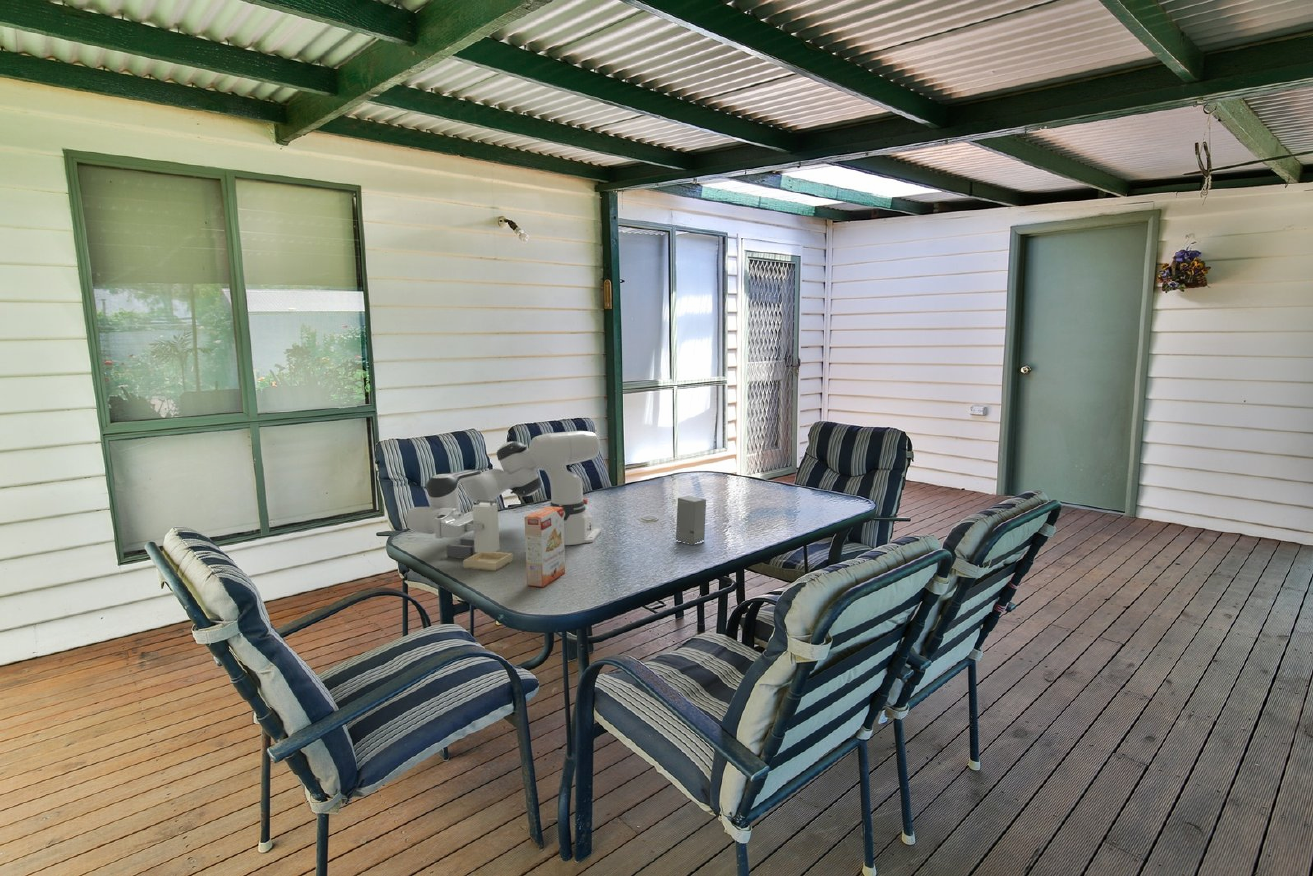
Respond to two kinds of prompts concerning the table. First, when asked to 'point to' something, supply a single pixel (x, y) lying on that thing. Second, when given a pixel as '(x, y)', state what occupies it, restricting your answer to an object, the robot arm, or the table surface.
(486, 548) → the white tall block
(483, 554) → the tray
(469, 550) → the dock
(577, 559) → the table surface
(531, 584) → the cracker box
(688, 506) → the skincare box
